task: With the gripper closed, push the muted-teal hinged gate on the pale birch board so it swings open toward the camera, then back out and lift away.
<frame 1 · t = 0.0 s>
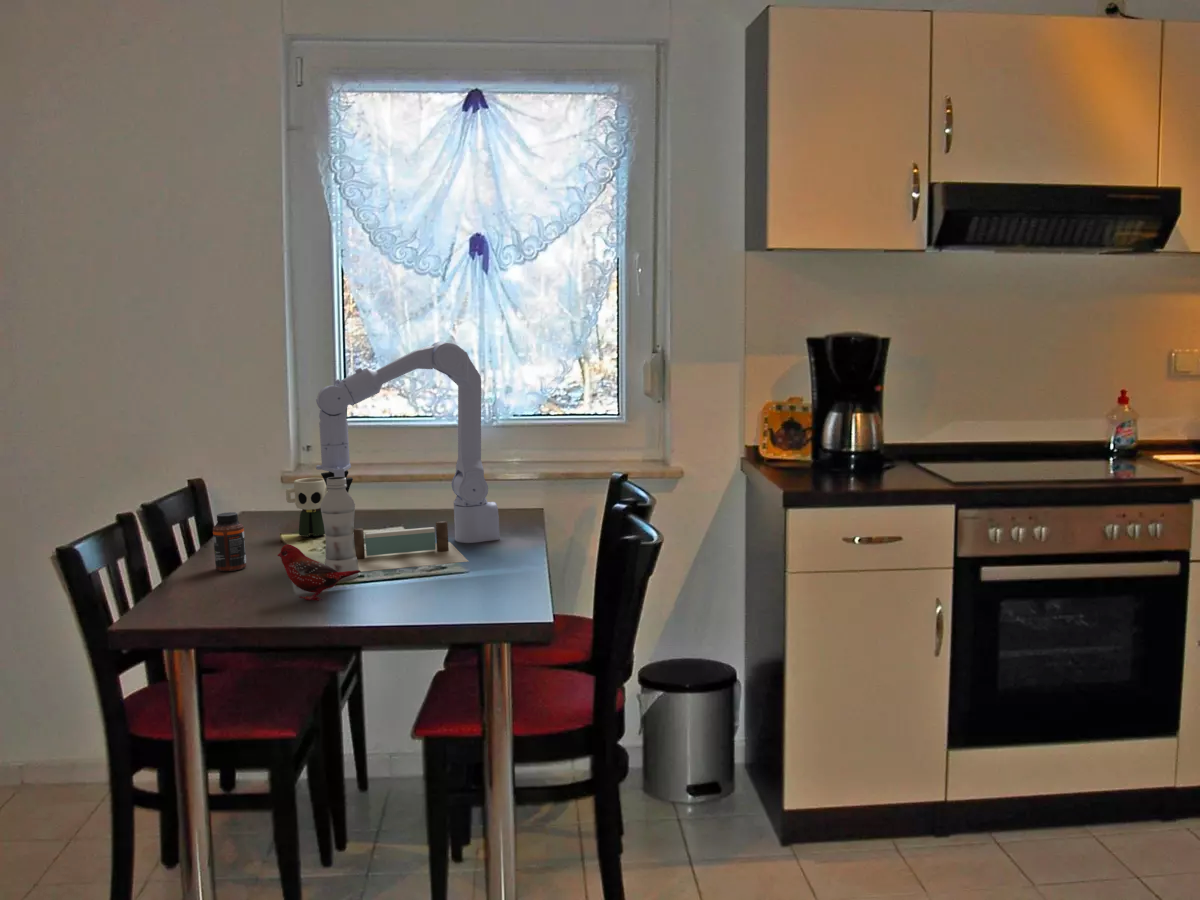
hand: (338, 508, 239), 10 cm above the table, tool pointing down, fingers open, 7 cm apart
gate frame: (405, 560, 234), on the table
gate: (400, 541, 235), point 4 cm above the table, hinge at 0.0°
decorative bird figurine: (320, 602, 203), on the table
supplement bottle: (231, 569, 231), on the table
character mug: (313, 536, 262), on the table
plastic bottle: (342, 583, 217), on the table
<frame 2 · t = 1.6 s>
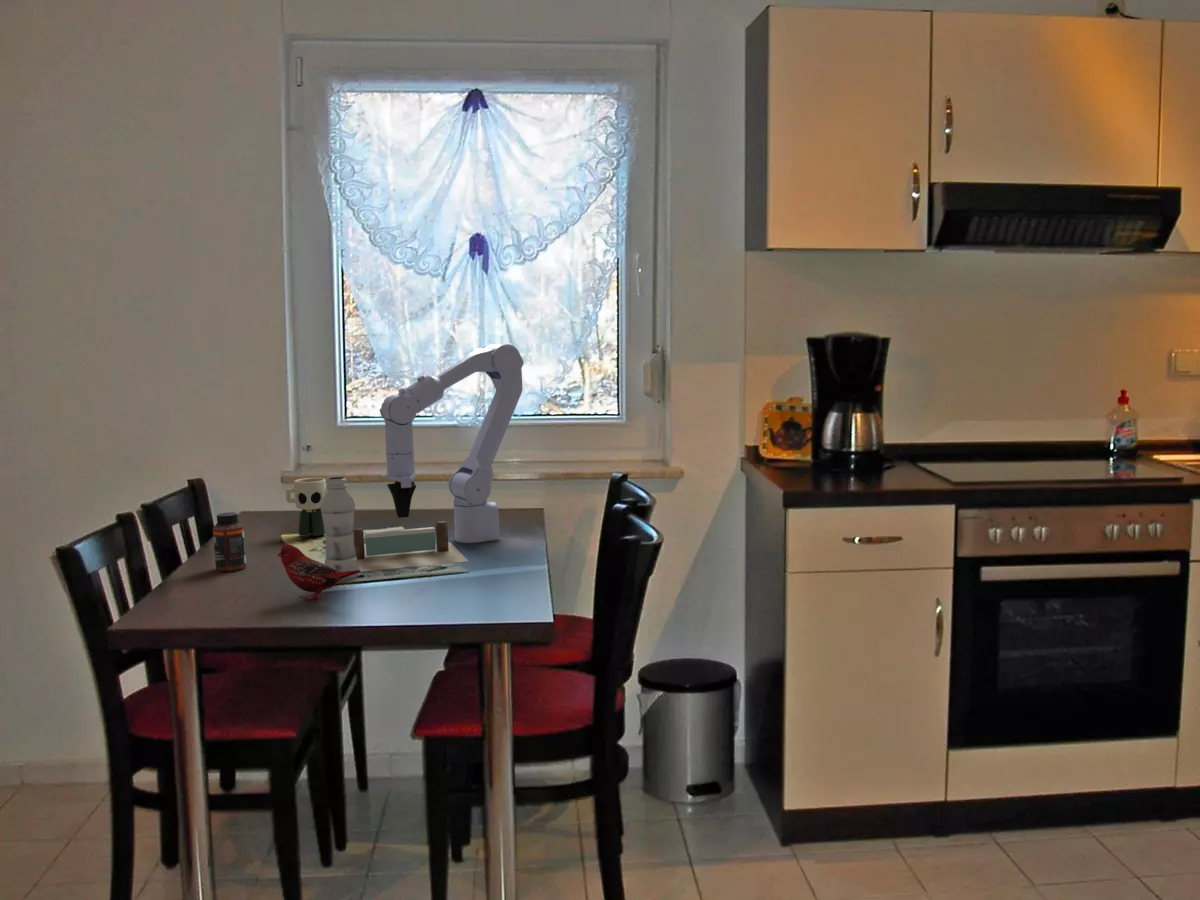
hand: (402, 516, 241), 8 cm above the table, tool pointing down, fingers closed
nothing on the table moved.
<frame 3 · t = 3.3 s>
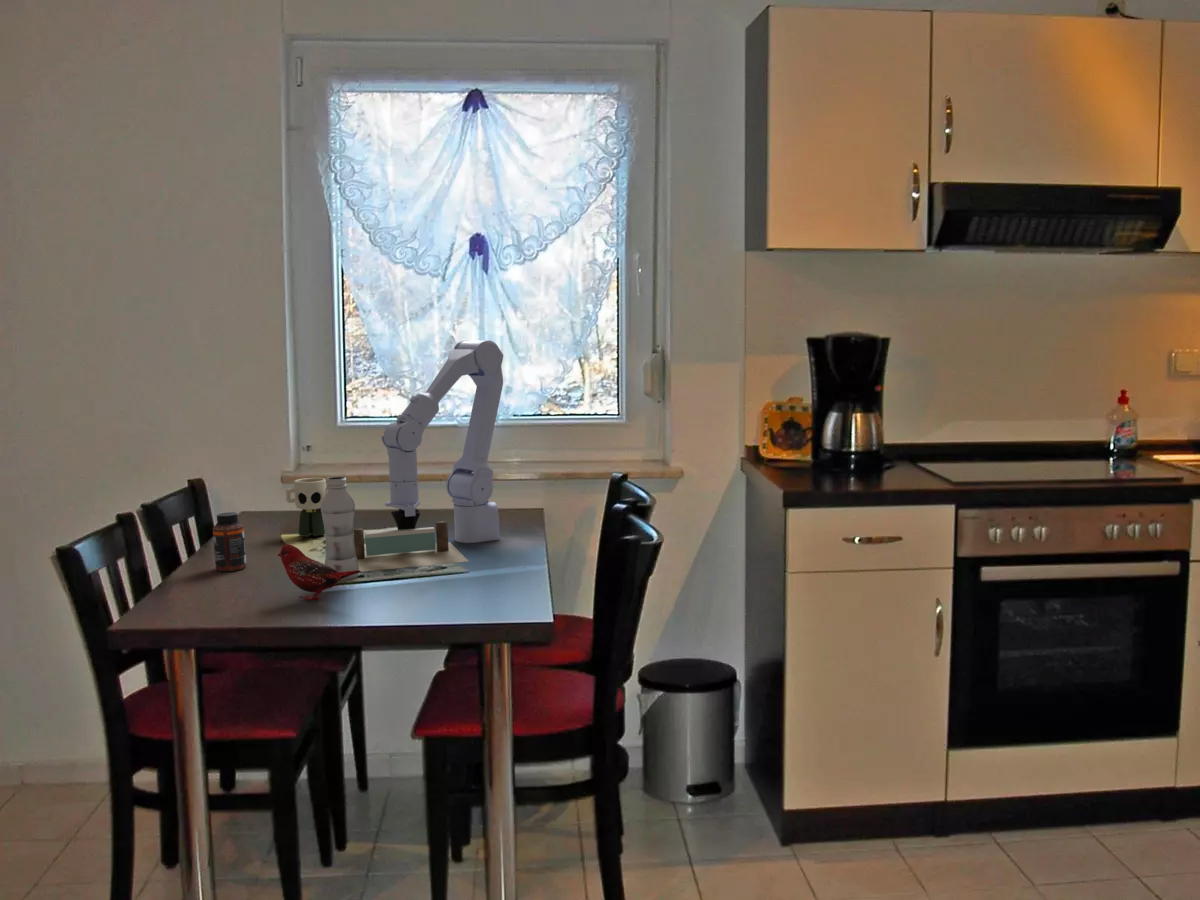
hand: (406, 544, 238), 2 cm above the table, tool pointing down, fingers closed, pressing on gate
gate: (400, 541, 235), point 4 cm above the table, hinge at 0.0°, touching gripper
everything else where it was.
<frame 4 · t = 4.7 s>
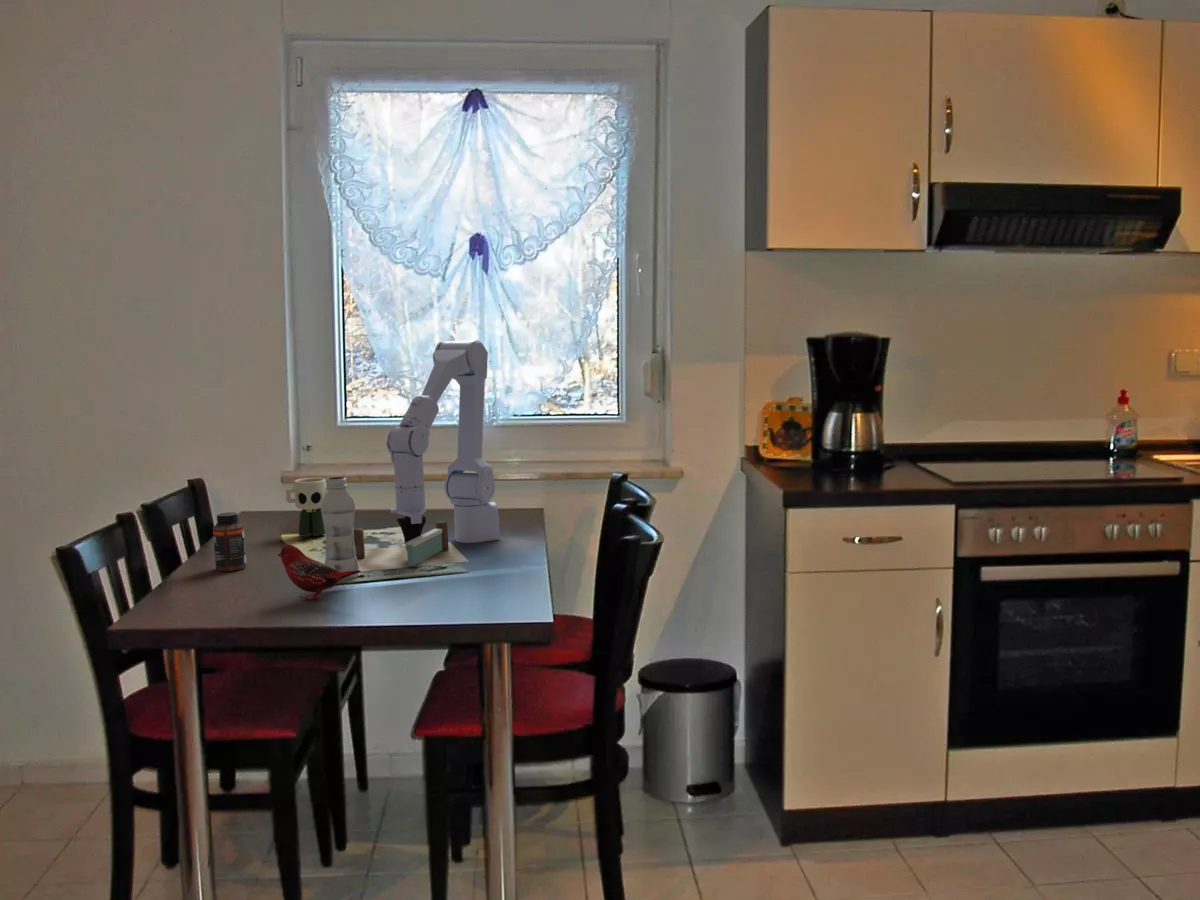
hand: (413, 552, 230), 2 cm above the table, tool pointing down, fingers closed, pressing on gate
gate: (425, 546, 229), point 4 cm above the table, hinge at 56.4°, touching gripper
everything else where it was.
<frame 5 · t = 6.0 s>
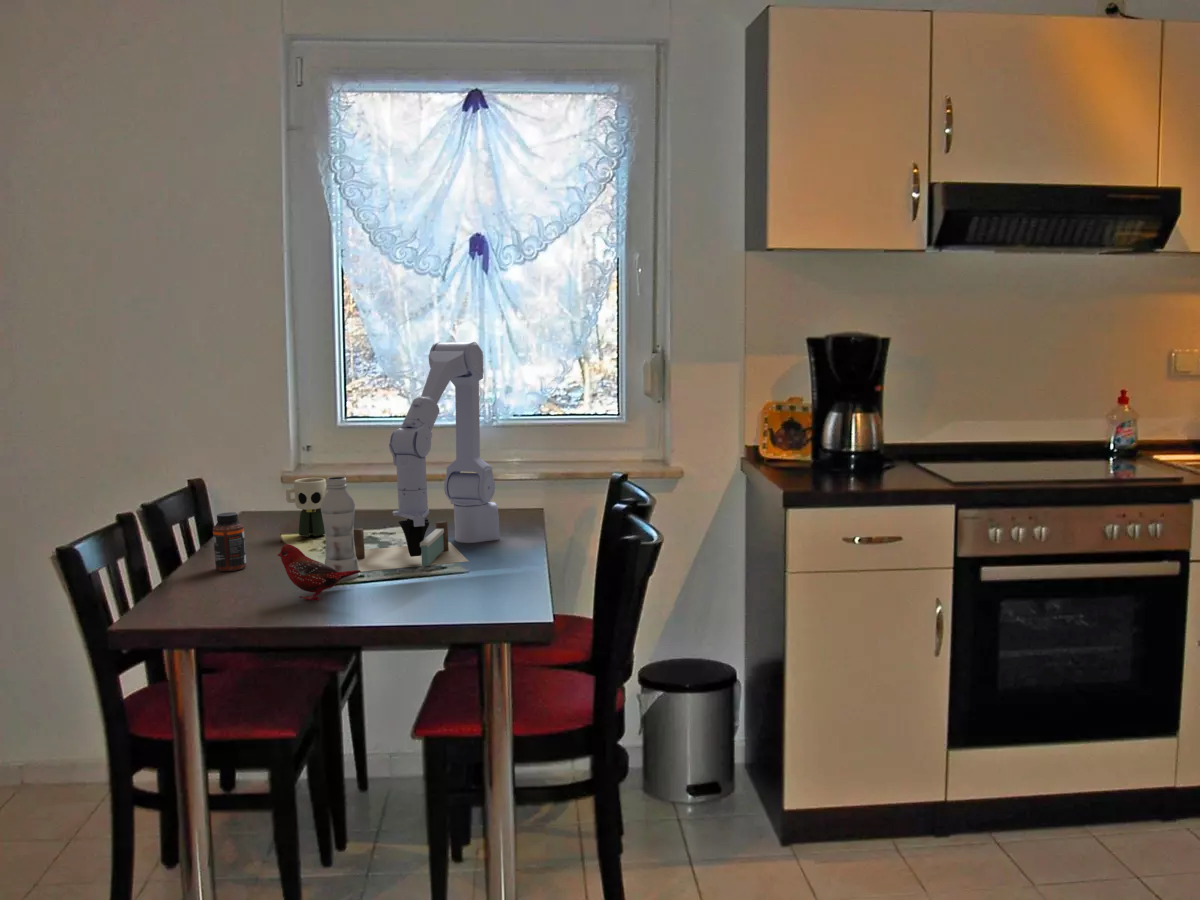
hand: (415, 555, 227), 2 cm above the table, tool pointing down, fingers closed
gate: (432, 546, 229), point 4 cm above the table, hinge at 67.1°, touching gripper
everything else where it was.
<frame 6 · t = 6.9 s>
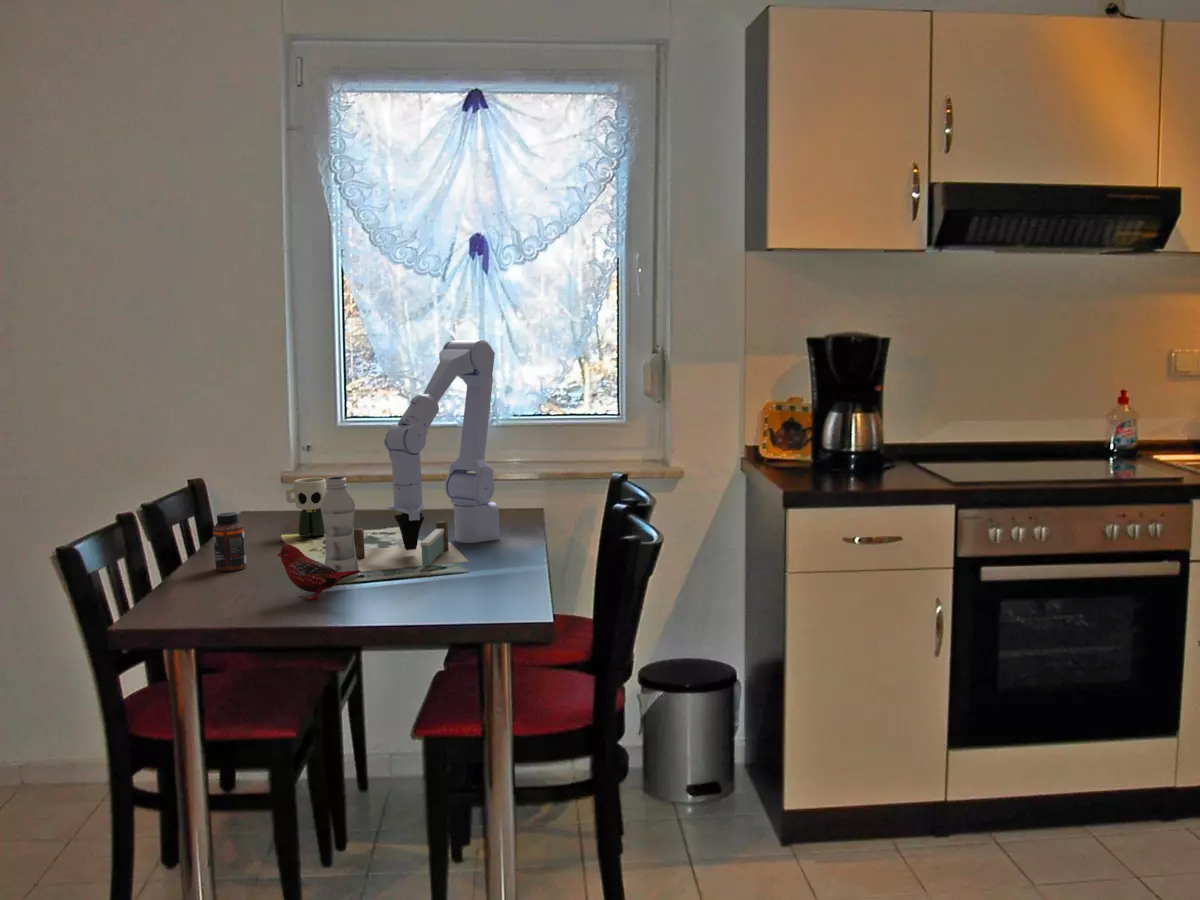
hand: (410, 549, 234), 2 cm above the table, tool pointing down, fingers closed
gate: (433, 546, 229), point 4 cm above the table, hinge at 67.5°
everything else where it was.
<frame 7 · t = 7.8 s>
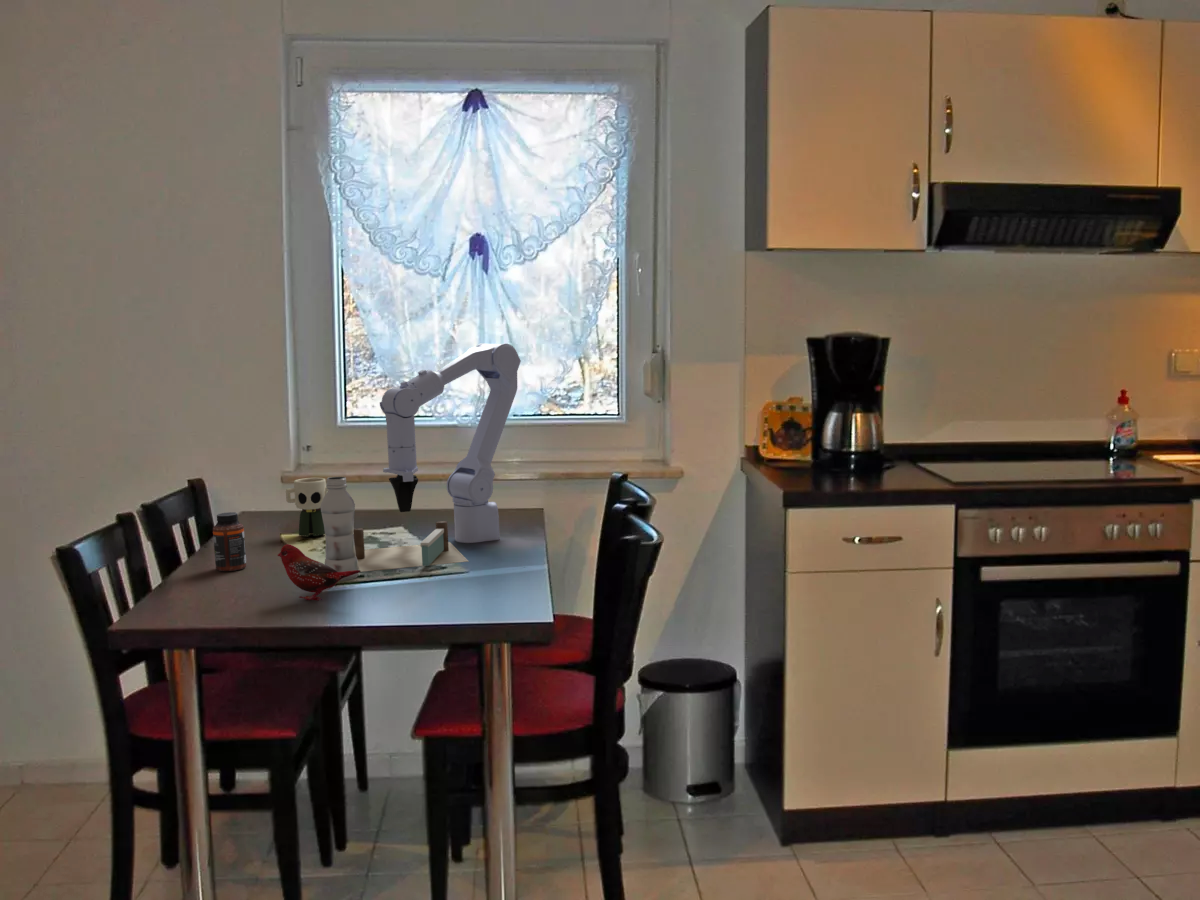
hand: (405, 511, 238), 9 cm above the table, tool pointing down, fingers closed
nothing on the table moved.
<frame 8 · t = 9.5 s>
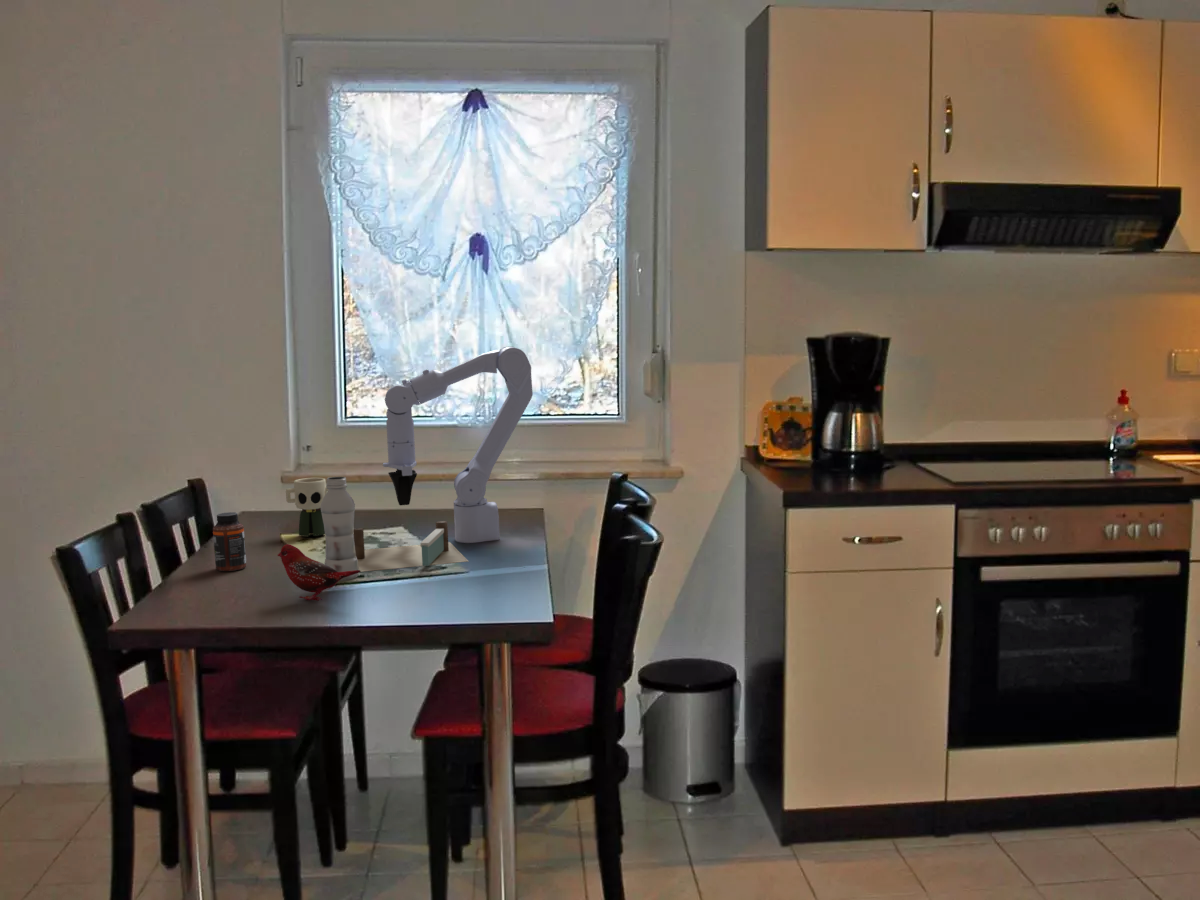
hand: (404, 504, 245), 9 cm above the table, tool pointing down, fingers closed
nothing on the table moved.
at the end: gate at +68° (first picture: +0°) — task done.
